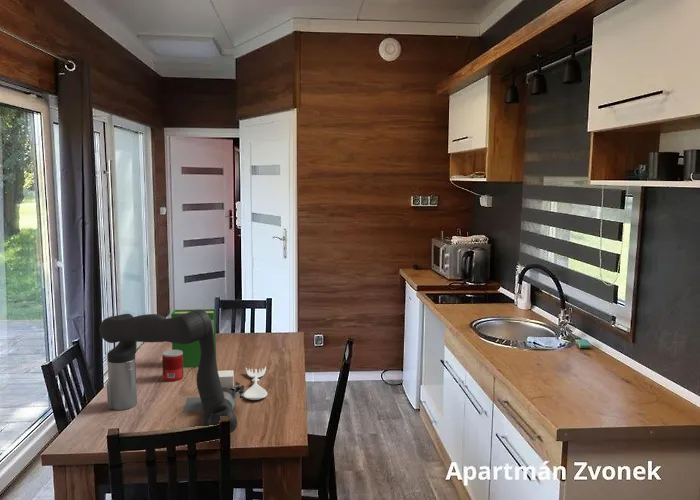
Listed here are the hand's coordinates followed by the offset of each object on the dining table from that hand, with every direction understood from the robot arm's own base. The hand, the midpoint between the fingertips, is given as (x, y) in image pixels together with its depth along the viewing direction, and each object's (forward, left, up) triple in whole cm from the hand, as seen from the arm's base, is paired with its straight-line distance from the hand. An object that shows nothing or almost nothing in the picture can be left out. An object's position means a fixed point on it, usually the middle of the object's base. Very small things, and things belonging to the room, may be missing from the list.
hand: (224, 384), depth 201 cm
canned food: (-22, +27, -7) cm, 36 cm away
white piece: (+11, +13, -7) cm, 18 cm away
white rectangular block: (0, -2, -6) cm, 6 cm away
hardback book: (-15, +43, -7) cm, 46 cm away
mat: (-5, -2, -6) cm, 8 cm away
